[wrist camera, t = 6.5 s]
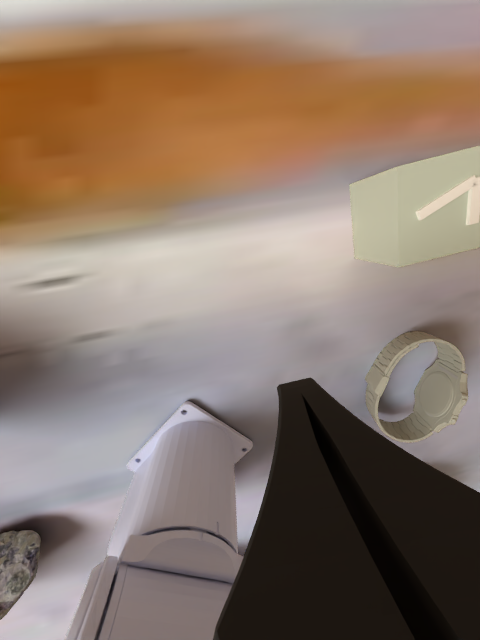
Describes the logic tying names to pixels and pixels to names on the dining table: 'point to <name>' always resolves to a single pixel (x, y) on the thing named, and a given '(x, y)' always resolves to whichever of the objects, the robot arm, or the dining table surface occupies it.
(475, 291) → the dining table surface
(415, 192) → the block marked 7
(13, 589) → the mineral rock
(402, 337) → the wristwatch
